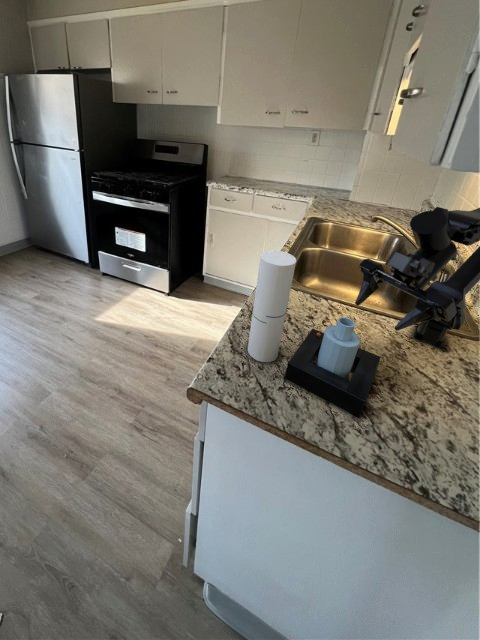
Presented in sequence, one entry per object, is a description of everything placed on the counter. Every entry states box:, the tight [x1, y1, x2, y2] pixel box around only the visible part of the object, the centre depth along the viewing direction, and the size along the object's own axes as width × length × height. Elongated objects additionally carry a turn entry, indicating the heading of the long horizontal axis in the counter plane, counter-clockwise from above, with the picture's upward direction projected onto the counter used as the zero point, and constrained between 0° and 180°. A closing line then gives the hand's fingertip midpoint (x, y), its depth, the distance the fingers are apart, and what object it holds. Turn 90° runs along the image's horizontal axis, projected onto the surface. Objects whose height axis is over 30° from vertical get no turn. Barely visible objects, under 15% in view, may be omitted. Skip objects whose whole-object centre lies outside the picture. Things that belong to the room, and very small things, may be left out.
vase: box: [315, 316, 361, 380], centre depth 66 cm, size 7×7×14 cm
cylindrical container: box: [247, 250, 297, 363], centre depth 70 cm, size 7×7×25 cm
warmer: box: [284, 327, 381, 419], centre depth 68 cm, size 15×15×5 cm
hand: (374, 316), depth 65 cm, fingers open, 9 cm apart
